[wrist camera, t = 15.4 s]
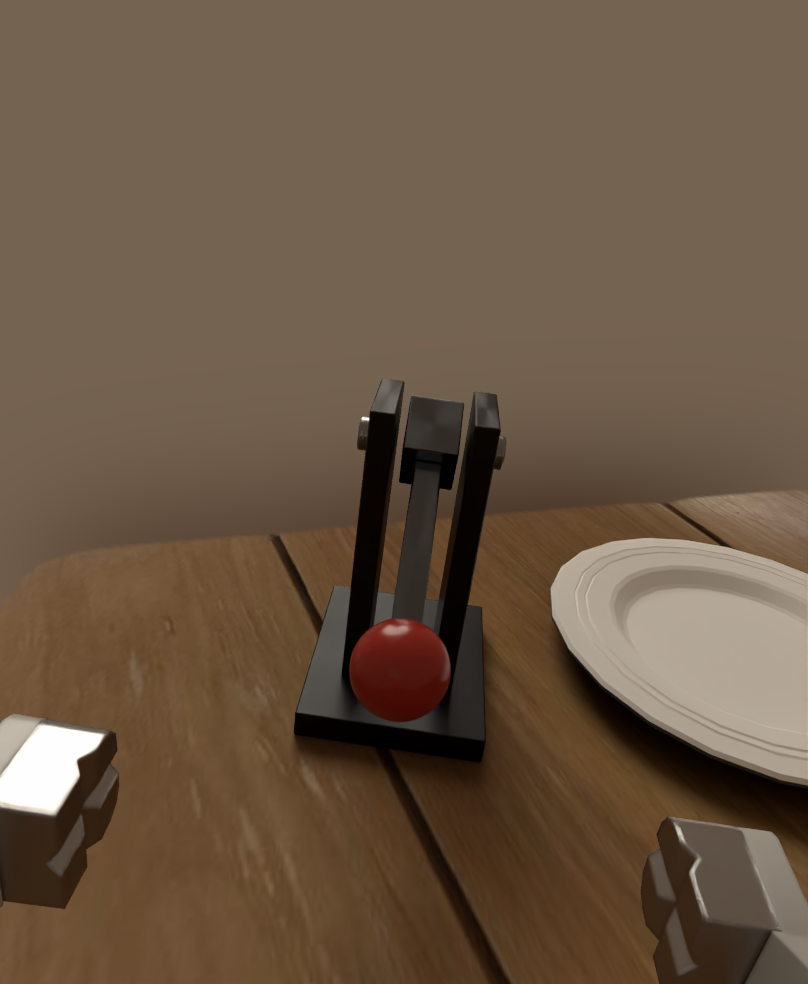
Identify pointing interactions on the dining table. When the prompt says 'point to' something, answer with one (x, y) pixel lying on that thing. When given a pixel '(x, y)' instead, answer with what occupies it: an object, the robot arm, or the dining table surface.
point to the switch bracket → (355, 610)
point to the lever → (412, 579)
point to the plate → (696, 646)
